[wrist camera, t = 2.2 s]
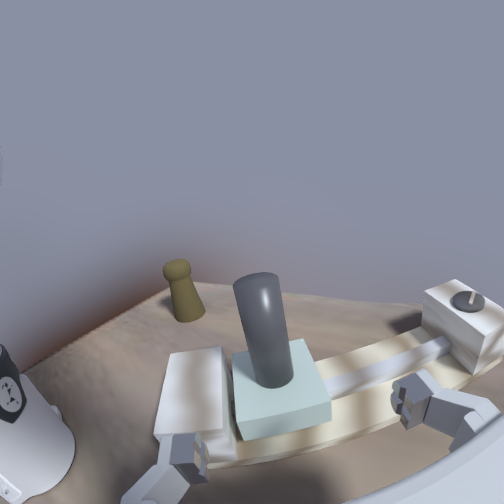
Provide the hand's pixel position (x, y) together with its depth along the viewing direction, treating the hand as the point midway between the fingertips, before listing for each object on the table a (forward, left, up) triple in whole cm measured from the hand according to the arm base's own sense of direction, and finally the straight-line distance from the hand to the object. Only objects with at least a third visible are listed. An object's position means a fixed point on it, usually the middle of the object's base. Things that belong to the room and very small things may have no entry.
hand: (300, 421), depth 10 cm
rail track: (+8, +14, -15) cm, 22 cm away
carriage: (0, +14, -14) cm, 19 cm away
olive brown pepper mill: (-13, +42, -16) cm, 47 cm away
